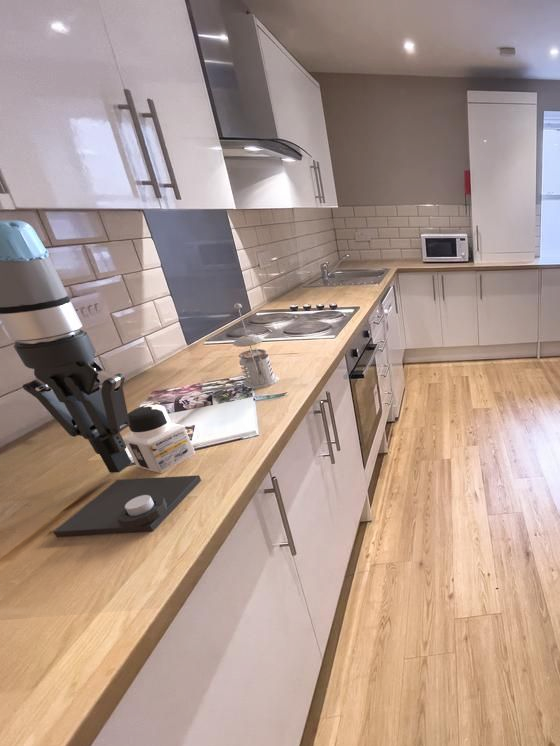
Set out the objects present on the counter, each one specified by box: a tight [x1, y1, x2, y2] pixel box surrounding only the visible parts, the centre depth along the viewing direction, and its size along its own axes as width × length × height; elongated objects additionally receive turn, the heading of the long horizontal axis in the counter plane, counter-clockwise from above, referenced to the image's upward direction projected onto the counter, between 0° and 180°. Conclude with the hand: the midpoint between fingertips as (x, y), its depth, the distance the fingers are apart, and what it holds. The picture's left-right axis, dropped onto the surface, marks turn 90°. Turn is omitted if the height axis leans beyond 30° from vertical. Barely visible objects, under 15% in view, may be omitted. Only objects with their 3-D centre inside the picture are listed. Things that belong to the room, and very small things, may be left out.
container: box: [122, 404, 196, 474], centre depth 88 cm, size 8×8×13 cm
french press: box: [232, 302, 280, 390], centre depth 122 cm, size 10×12×25 cm
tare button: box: [125, 495, 154, 516], centre depth 73 cm, size 4×4×2 cm
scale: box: [52, 474, 202, 538], centre depth 77 cm, size 16×14×3 cm
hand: (120, 467), depth 69 cm, fingers closed
